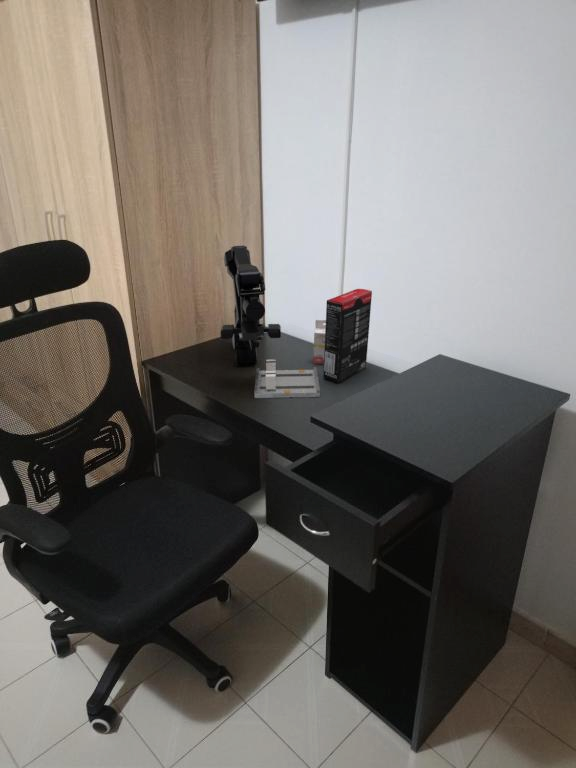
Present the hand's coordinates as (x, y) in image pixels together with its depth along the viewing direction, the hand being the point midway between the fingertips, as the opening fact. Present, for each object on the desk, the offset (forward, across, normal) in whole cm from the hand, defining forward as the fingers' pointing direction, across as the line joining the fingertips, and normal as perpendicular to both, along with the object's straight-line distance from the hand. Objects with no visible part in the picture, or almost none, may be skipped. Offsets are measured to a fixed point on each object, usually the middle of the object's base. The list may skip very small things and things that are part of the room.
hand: (252, 356), depth 175 cm
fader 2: (+6, +6, -9) cm, 13 cm away
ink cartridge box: (+9, +25, +14) cm, 30 cm away
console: (+8, +11, -5) cm, 15 cm away
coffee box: (+9, -4, +29) cm, 30 cm away
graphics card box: (+9, +31, +4) cm, 32 cm away
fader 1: (+6, +6, 0) cm, 9 cm away
